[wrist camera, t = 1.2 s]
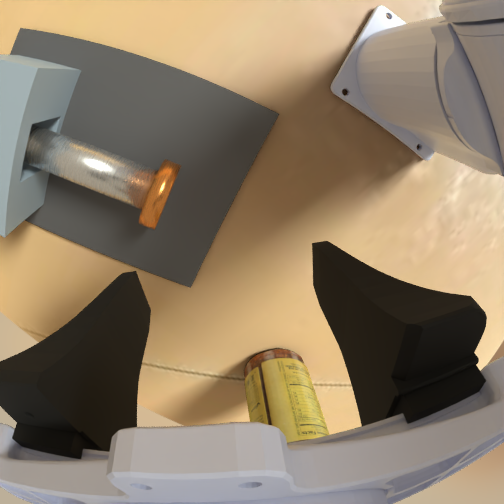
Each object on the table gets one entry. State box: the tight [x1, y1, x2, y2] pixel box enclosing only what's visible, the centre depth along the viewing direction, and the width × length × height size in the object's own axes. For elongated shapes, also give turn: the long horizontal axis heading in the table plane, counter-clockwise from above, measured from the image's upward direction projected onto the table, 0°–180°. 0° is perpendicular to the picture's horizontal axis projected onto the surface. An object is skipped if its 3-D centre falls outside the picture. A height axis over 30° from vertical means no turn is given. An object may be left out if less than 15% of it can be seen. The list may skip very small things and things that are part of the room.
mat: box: [10, 28, 279, 288], centre depth 18 cm, size 20×14×1 cm
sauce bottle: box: [244, 348, 329, 444], centre depth 21 cm, size 7×6×20 cm
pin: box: [23, 124, 181, 230], centre depth 15 cm, size 11×4×4 cm, turn 63°
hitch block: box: [0, 54, 81, 237], centre depth 13 cm, size 6×10×6 cm, turn 153°
